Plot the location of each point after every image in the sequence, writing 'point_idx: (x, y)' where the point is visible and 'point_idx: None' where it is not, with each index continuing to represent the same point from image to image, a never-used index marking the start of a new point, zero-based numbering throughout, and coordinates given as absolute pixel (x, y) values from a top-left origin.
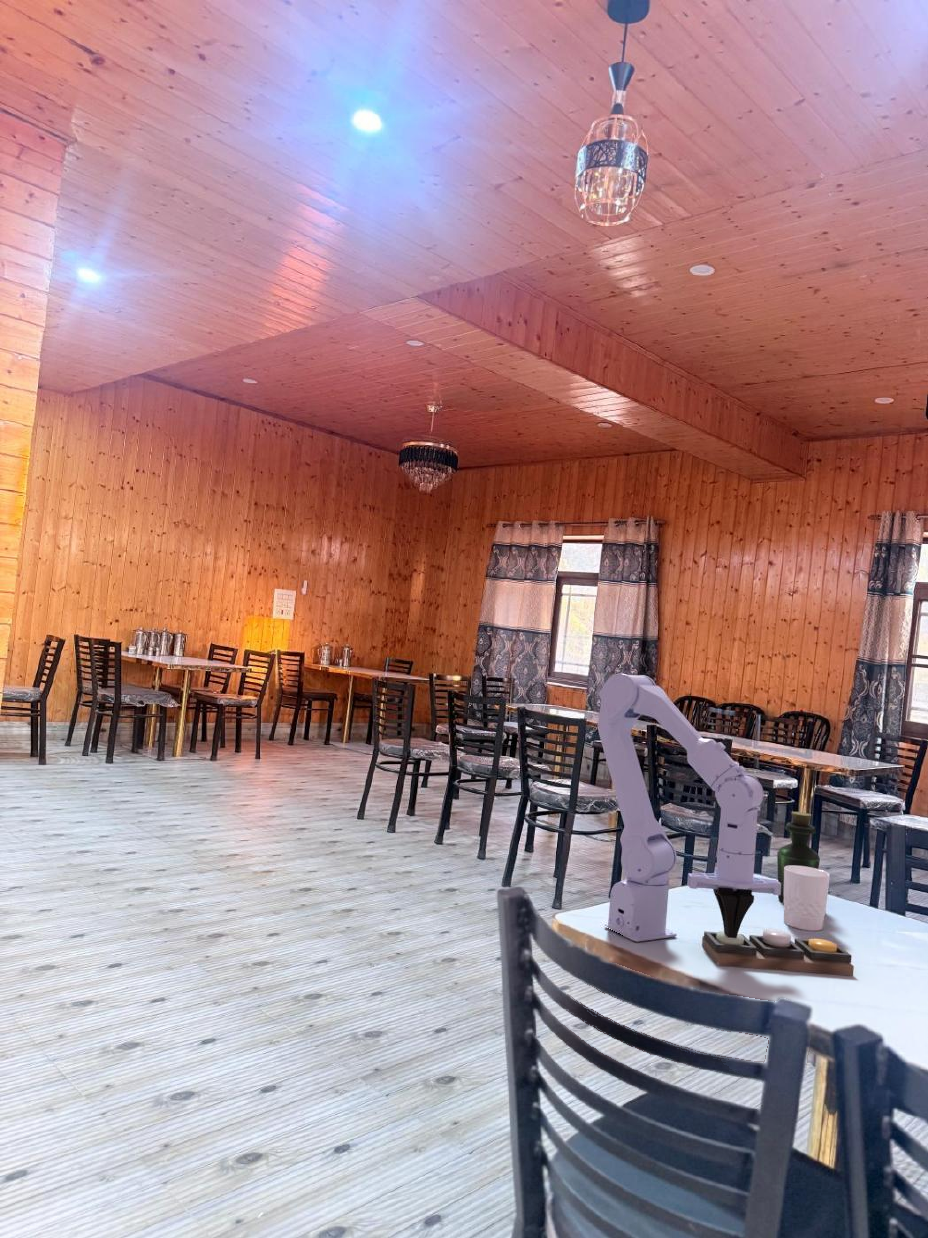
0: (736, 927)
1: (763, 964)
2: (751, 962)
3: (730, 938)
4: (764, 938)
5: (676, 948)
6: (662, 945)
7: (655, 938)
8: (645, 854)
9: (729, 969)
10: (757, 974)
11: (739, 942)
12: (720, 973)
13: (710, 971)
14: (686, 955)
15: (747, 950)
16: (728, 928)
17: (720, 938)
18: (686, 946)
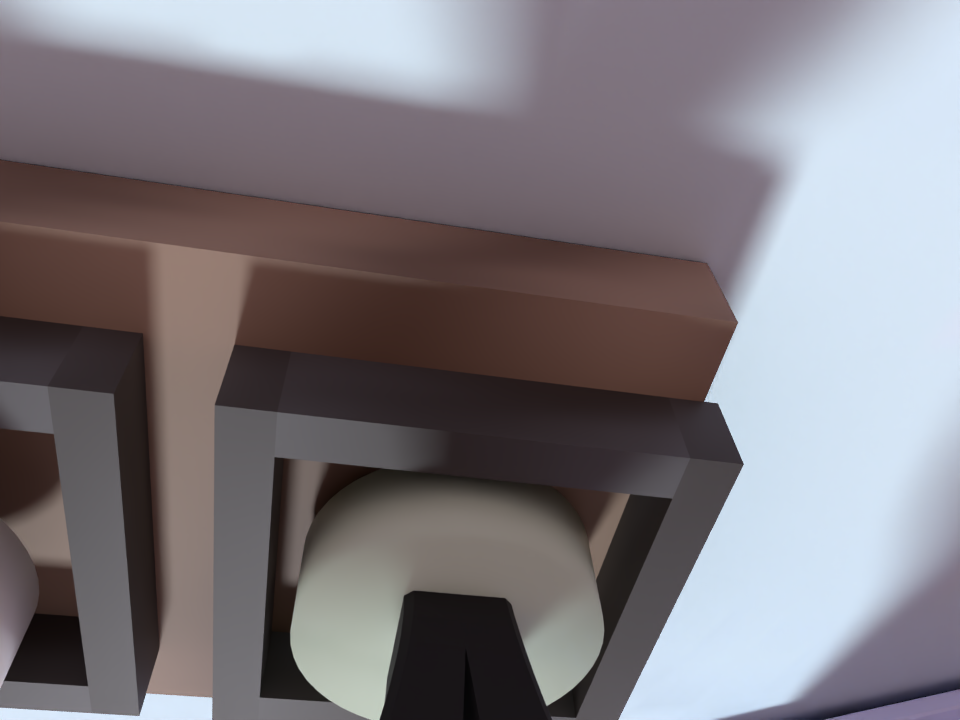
0: (434, 705)
1: (190, 214)
2: (342, 244)
3: (500, 579)
4: (15, 602)
5: (828, 594)
6: (902, 632)
7: (894, 710)
8: None
9: (652, 163)
10: (363, 12)
11: (403, 520)
12: (866, 30)
13: (947, 91)
14: (859, 476)
15: (347, 393)
16: (538, 695)
17: (598, 594)
18: (704, 631)
